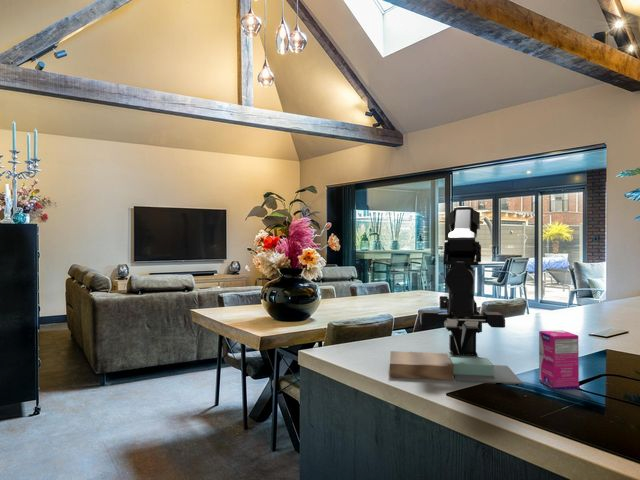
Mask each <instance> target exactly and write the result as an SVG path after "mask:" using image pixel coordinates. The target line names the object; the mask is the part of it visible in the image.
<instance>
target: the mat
mask: <svg viewBox="0 0 640 480" xmlns="http://www.w3.org/2000/svg"><path fill="white" fill-rule="evenodd" d="M493 365H494V376H484V375H462V374H453V379H455V382H461V383H462V382H463V383H481V384H482V383H483V384H496V383H502V384H501V385H516V384H518V385H519V386H522V385H524V382H523V381H522V380H521V379H520V378H519V377H518V376H517V375H516V374H515V372H513V371H512V369H511V367H509V366H508V365H500V364H493ZM503 383H504V384H503ZM518 385H517V386H518Z"/></svg>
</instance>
